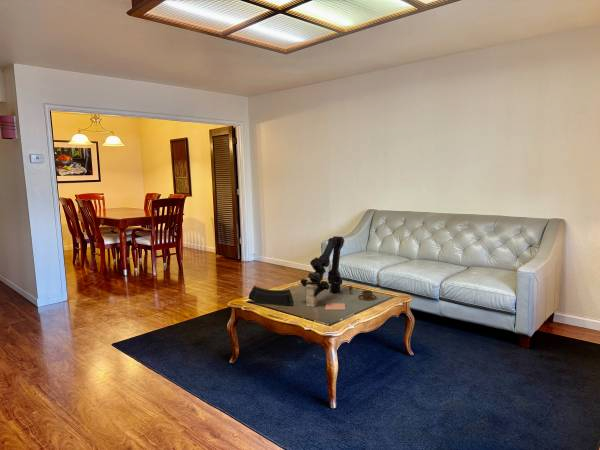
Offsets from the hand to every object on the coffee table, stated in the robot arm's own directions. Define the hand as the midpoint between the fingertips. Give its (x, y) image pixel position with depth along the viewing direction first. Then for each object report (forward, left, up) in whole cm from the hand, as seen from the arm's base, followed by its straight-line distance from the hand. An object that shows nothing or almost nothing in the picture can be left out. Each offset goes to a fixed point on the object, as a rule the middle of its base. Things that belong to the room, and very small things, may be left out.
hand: (310, 295), depth 257 cm
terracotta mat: (-12, +10, -7) cm, 17 cm away
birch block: (-1, -1, -7) cm, 7 cm away
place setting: (-41, 0, -7) cm, 42 cm away
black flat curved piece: (+20, -17, -7) cm, 27 cm away
